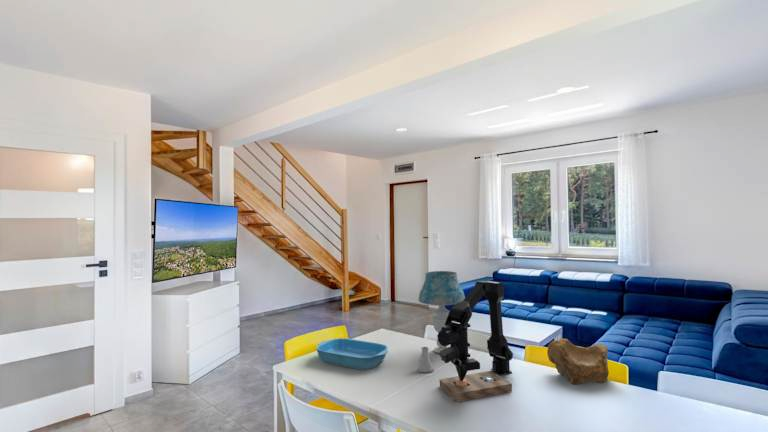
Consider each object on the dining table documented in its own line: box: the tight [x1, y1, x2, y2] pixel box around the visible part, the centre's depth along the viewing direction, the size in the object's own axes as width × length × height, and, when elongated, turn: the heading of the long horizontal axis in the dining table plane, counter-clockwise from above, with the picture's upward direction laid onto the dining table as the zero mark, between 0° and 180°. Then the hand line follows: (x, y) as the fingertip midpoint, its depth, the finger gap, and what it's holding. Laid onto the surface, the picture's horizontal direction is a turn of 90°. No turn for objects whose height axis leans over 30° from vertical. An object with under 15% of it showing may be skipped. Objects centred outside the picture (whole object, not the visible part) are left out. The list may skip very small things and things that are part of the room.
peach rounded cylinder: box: [456, 378, 467, 387], centre depth 148 cm, size 4×4×3 cm
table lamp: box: [418, 270, 466, 354], centre depth 196 cm, size 24×24×40 cm
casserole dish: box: [316, 337, 389, 371], centre depth 185 cm, size 37×22×7 cm, turn 63°
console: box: [438, 370, 513, 402], centre depth 150 cm, size 24×14×3 cm, turn 108°
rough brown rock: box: [547, 338, 610, 385], centre depth 156 cm, size 23×17×15 cm
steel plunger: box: [482, 376, 494, 383], centre depth 152 cm, size 4×4×3 cm
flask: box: [417, 346, 434, 374], centre depth 170 cm, size 7×7×10 cm
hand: (461, 380), depth 148 cm, fingers closed, pressing on peach rounded cylinder
